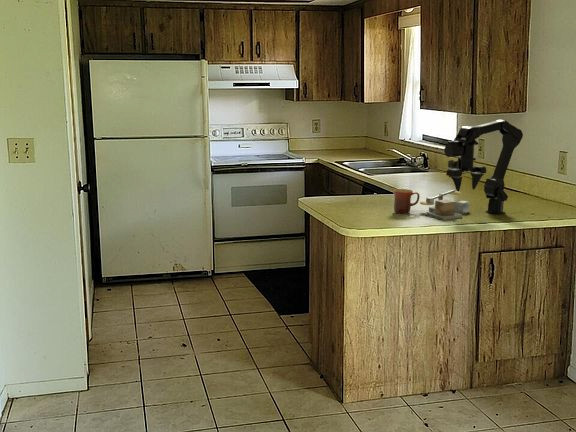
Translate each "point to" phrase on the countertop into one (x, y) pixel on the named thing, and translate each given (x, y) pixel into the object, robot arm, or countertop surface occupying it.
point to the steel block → (461, 206)
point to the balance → (440, 197)
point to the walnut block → (444, 207)
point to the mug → (403, 200)
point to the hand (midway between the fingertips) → (465, 190)
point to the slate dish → (432, 214)
